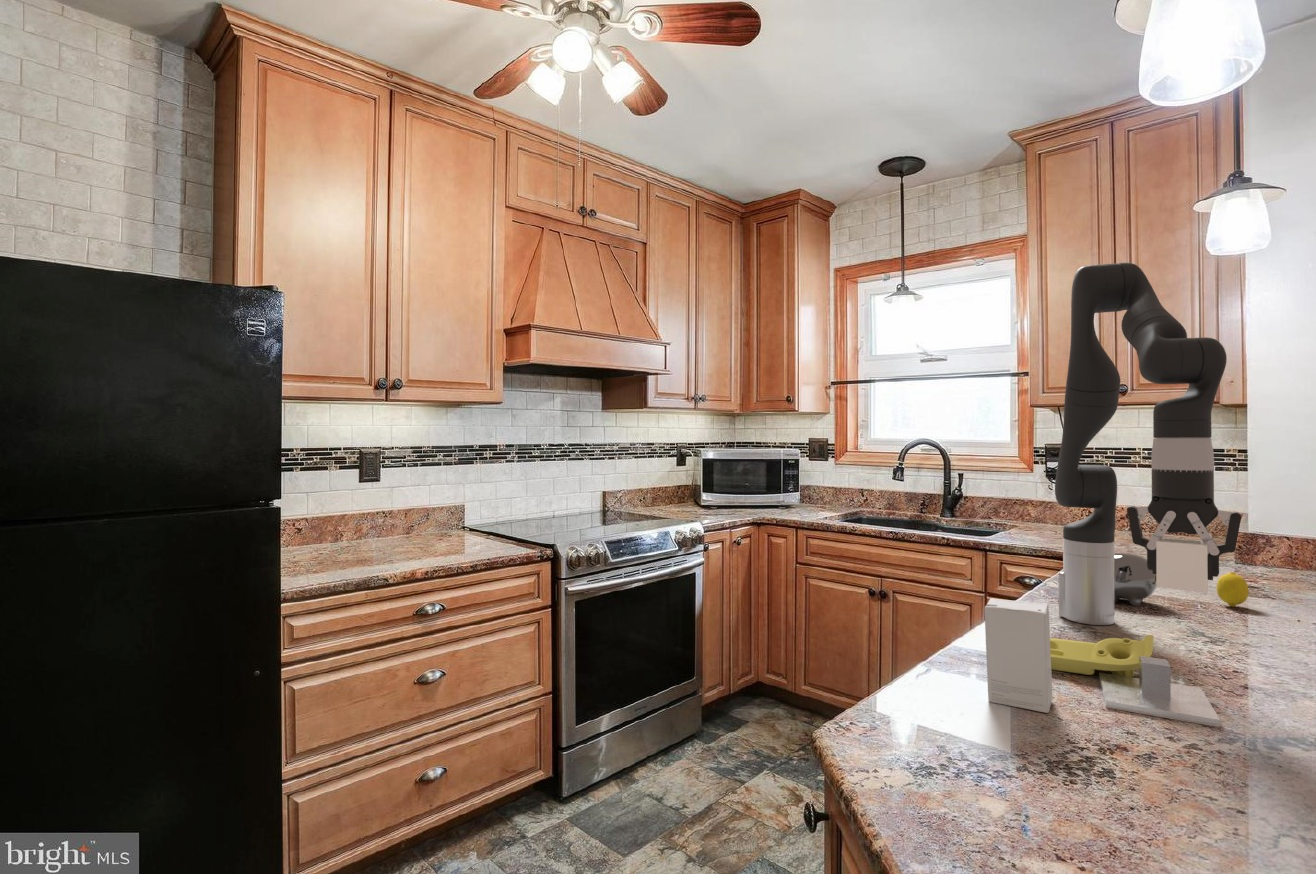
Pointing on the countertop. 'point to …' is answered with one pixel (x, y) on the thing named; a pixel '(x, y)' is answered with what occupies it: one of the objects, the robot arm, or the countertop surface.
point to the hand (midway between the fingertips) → (1182, 576)
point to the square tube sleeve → (1182, 564)
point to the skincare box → (1018, 654)
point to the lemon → (1232, 589)
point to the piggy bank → (1132, 578)
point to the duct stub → (1157, 694)
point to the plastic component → (1099, 655)
